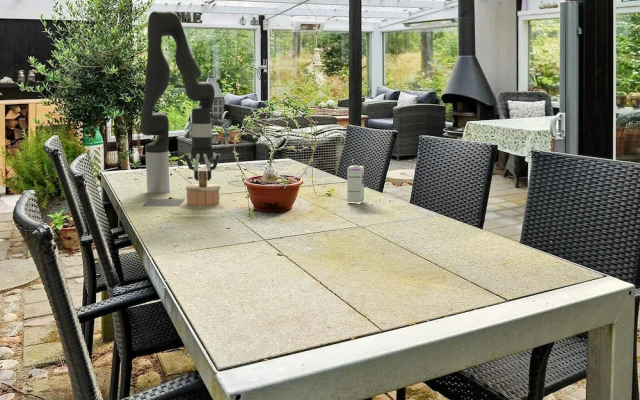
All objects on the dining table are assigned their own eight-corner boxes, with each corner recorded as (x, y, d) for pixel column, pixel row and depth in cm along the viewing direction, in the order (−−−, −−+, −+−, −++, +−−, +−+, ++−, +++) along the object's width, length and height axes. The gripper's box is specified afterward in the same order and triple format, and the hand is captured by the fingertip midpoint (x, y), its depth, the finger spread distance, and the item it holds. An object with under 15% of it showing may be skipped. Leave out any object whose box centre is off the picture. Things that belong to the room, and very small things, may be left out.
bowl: (190, 200, 254) (189, 185, 253) (220, 200, 255) (220, 185, 254) (185, 206, 242) (184, 191, 241) (217, 206, 243) (217, 191, 242)
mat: (149, 200, 254) (149, 199, 254) (185, 200, 255) (185, 199, 255) (141, 207, 241) (141, 206, 241) (179, 207, 241) (179, 206, 241)
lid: (188, 185, 254) (188, 168, 252) (221, 185, 254) (221, 168, 253) (183, 191, 241) (182, 173, 240) (218, 191, 241) (217, 173, 240)
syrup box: (361, 204, 250) (362, 167, 248) (346, 203, 251) (347, 166, 249) (363, 201, 256) (364, 165, 253) (349, 201, 257) (349, 165, 254)
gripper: (221, 134, 248) (222, 179, 251) (184, 134, 247) (185, 178, 250) (219, 136, 240) (220, 182, 244) (181, 136, 240) (182, 182, 243)
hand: (202, 180), depth 247 cm, fingers open, 3 cm apart
